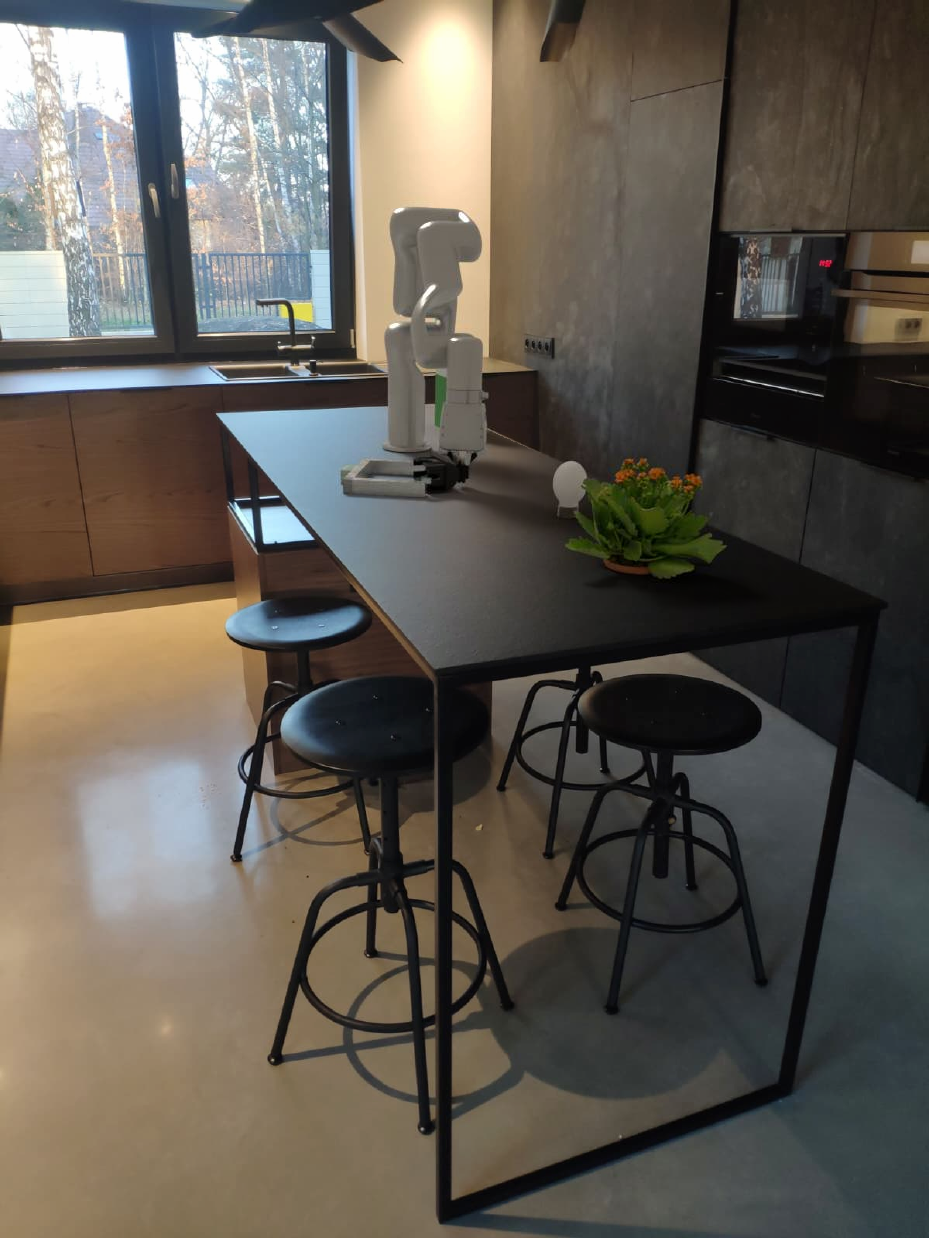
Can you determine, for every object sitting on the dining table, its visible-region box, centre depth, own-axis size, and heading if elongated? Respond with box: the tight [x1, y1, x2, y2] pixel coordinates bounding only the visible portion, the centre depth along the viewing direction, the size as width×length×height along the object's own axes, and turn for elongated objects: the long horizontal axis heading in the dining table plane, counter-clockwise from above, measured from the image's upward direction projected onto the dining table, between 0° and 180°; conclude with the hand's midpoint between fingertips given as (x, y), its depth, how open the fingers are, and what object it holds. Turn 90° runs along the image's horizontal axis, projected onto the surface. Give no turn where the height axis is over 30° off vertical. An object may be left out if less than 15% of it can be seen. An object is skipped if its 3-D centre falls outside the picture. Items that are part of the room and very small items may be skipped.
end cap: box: [412, 452, 459, 495], centre depth 205 cm, size 10×7×7 cm
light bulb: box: [552, 460, 588, 519], centre depth 186 cm, size 7×7×11 cm
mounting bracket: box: [340, 457, 432, 498], centre depth 209 cm, size 22×21×4 cm
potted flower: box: [564, 458, 727, 580], centre depth 156 cm, size 25×24×18 cm
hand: (461, 481), depth 208 cm, fingers closed
